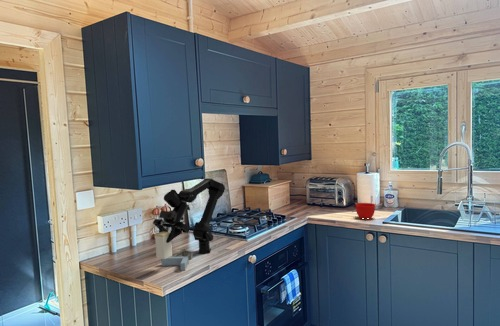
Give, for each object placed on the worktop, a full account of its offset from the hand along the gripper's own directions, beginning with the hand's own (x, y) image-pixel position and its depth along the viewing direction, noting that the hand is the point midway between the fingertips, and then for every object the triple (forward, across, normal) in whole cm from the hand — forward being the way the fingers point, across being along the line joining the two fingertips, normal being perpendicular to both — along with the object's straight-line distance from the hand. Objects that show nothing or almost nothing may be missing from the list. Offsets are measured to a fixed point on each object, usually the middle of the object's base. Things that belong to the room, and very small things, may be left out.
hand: (162, 241), depth 163 cm
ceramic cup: (-87, +58, +110) cm, 151 cm away
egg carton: (0, -2, +20) cm, 20 cm away
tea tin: (+5, 0, +5) cm, 7 cm away
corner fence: (+6, +2, +12) cm, 14 cm away
